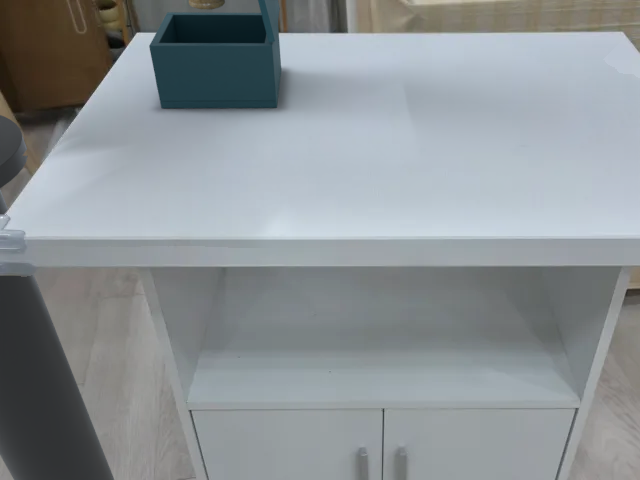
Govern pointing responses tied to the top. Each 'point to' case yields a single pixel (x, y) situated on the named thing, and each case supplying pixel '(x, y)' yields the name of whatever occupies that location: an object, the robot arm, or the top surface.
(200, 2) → the sprinkles bottle
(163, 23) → the teal hollow box
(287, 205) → the top surface
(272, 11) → the lid
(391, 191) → the top surface
